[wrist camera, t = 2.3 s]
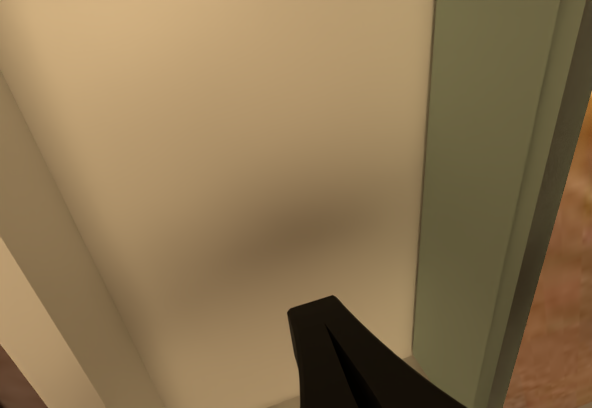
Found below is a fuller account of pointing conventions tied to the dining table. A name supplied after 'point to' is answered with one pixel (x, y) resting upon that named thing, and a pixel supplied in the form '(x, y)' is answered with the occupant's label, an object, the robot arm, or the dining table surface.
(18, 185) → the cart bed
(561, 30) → the panel
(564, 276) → the dining table surface
